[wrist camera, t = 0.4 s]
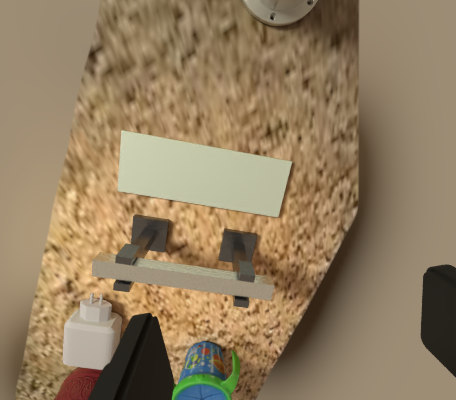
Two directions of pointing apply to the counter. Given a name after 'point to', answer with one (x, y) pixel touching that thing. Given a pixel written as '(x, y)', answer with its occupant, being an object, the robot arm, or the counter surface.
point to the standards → (156, 241)
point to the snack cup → (206, 374)
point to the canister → (78, 384)
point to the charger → (91, 334)
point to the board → (201, 174)
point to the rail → (182, 276)
